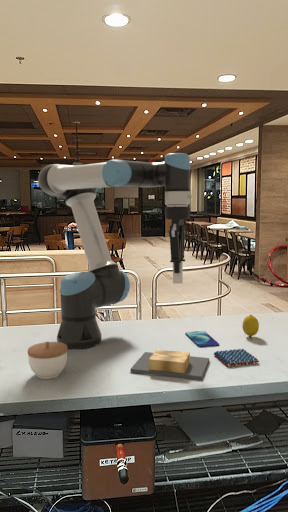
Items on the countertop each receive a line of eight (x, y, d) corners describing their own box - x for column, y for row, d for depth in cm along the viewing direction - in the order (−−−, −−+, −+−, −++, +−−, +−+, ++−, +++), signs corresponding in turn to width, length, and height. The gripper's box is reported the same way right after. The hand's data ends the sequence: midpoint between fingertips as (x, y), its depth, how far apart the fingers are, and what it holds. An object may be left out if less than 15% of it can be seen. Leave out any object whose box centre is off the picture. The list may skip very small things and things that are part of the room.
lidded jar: (70, 366, 124) (69, 335, 122) (64, 382, 113) (63, 348, 112) (33, 367, 123) (32, 336, 122) (24, 383, 113) (22, 349, 112)
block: (156, 359, 126) (148, 369, 118) (156, 349, 126) (148, 359, 118) (189, 362, 123) (184, 373, 115) (189, 352, 123) (184, 362, 115)
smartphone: (198, 346, 138) (184, 332, 153) (198, 349, 139) (184, 334, 153) (220, 344, 140) (204, 330, 155) (220, 347, 140) (204, 333, 155)
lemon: (239, 335, 150) (239, 313, 149) (251, 333, 152) (252, 312, 151) (248, 340, 145) (249, 317, 144) (262, 338, 147) (262, 315, 146)
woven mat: (260, 365, 124) (260, 359, 124) (227, 369, 121) (227, 362, 121) (243, 353, 134) (244, 347, 134) (212, 356, 131) (212, 350, 131)
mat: (130, 372, 119) (130, 368, 119) (145, 355, 132) (145, 352, 132) (201, 380, 113) (201, 376, 113) (209, 361, 127) (209, 358, 126)
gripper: (185, 206, 121) (185, 287, 124) (193, 205, 133) (193, 279, 136) (159, 206, 123) (160, 286, 126) (170, 205, 135) (170, 278, 138)
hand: (177, 282), depth 131 cm, fingers closed
